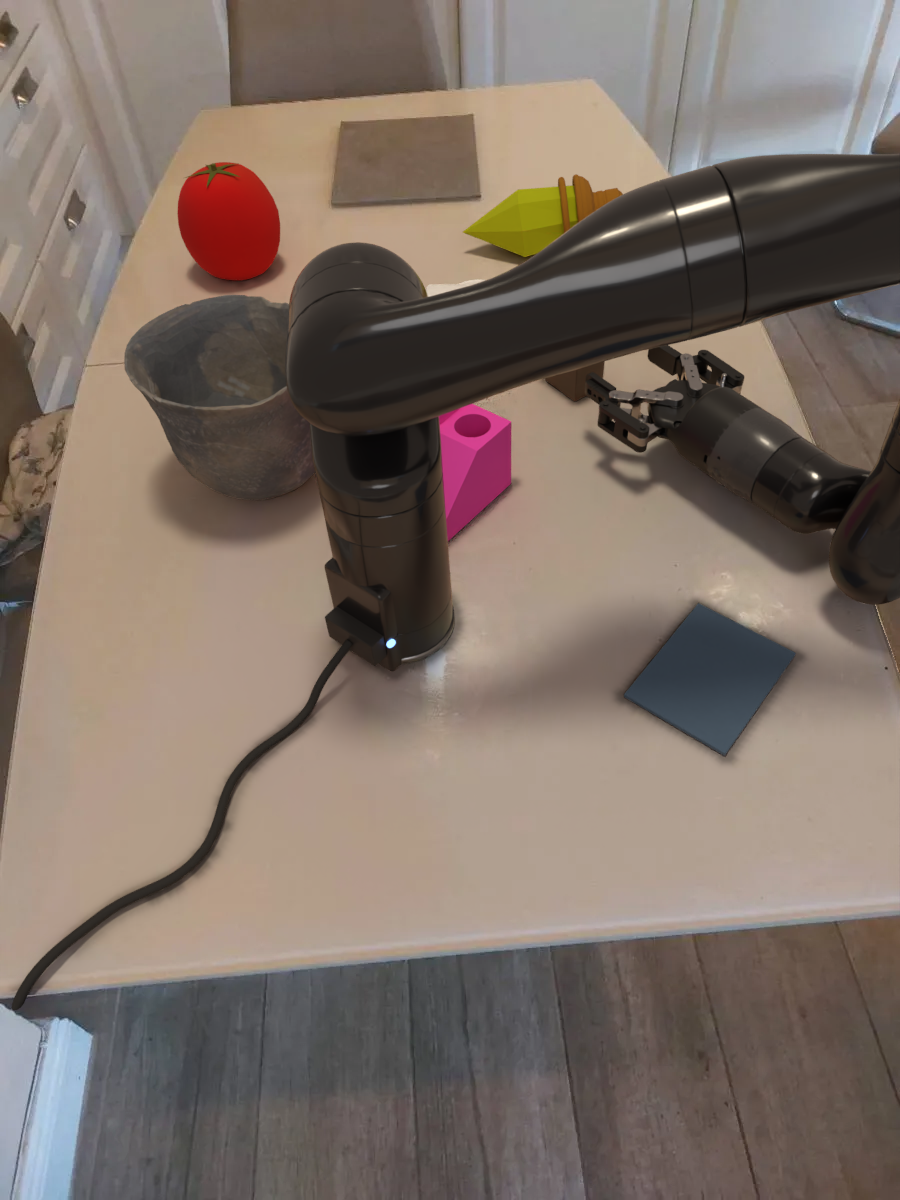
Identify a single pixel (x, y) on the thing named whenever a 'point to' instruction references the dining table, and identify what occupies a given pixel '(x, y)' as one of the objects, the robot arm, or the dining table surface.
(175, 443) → the grey deep bowl
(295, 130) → the dining table surface
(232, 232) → the tomato
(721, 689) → the blue mat
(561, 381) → the walnut block
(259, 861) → the dining table surface
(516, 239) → the plumb bob
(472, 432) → the bracket
